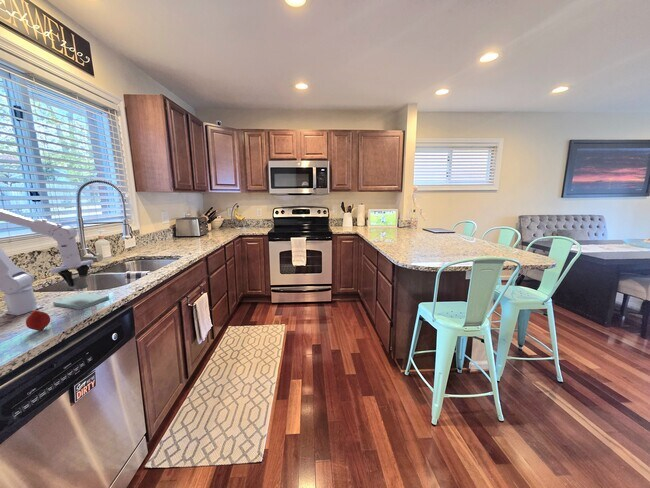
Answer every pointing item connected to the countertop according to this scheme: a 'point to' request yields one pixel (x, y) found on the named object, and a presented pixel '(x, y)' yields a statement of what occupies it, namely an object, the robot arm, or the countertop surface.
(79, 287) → the connector
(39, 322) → the onion
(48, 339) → the countertop surface
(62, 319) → the countertop surface
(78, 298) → the board
